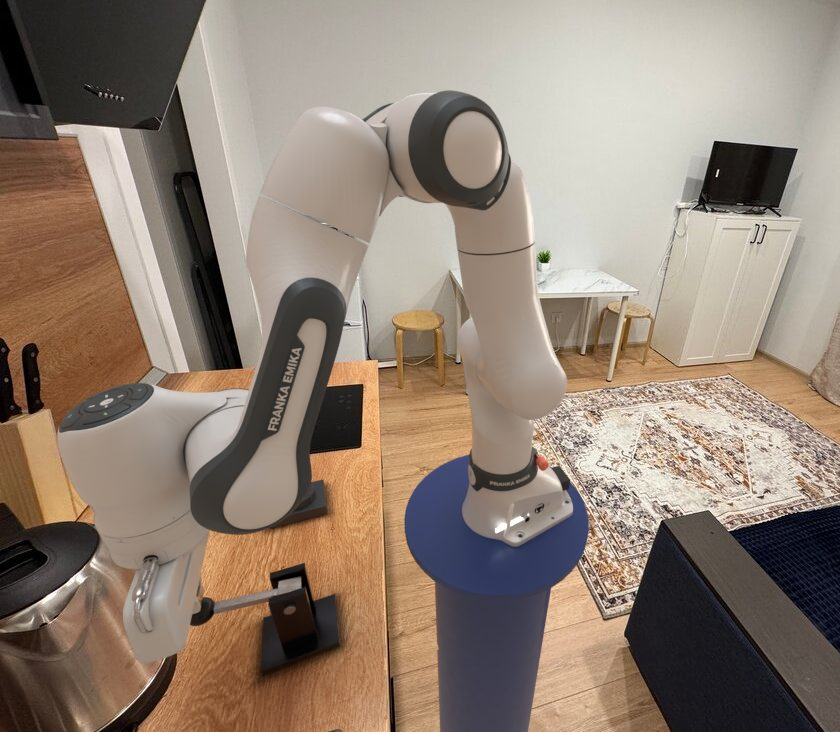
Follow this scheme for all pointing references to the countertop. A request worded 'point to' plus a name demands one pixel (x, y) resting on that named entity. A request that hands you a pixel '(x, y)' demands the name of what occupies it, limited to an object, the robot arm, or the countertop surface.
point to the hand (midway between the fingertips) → (194, 603)
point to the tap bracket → (297, 624)
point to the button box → (309, 505)
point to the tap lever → (241, 601)
